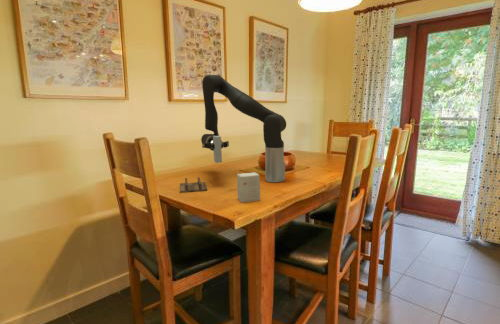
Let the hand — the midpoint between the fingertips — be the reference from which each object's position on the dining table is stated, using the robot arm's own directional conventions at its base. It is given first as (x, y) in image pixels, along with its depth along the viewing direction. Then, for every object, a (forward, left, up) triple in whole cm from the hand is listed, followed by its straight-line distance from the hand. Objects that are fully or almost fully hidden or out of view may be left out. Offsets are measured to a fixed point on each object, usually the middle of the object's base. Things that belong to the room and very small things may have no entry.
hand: (217, 146), depth 134 cm
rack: (+12, -1, -19) cm, 23 cm away
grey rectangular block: (0, -2, -8) cm, 8 cm away
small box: (-9, +24, -20) cm, 32 cm away
